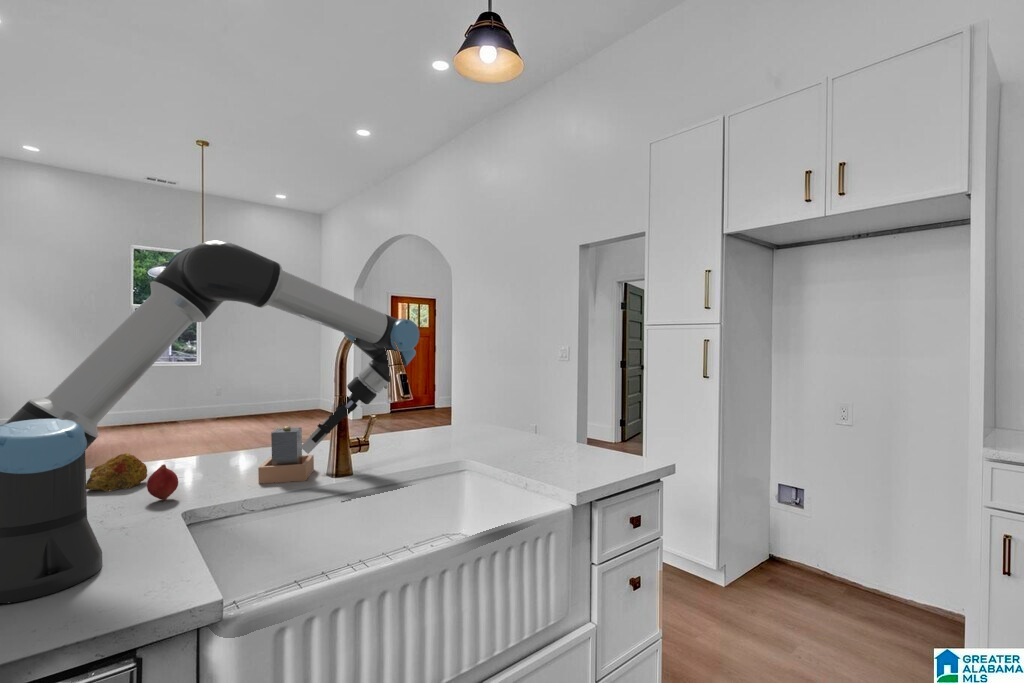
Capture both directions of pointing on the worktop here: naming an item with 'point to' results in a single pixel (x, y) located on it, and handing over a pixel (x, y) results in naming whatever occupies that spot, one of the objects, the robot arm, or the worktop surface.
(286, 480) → the tray
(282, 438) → the block
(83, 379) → the robot arm
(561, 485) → the worktop surface
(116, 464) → the rock
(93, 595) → the worktop surface
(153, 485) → the onion
